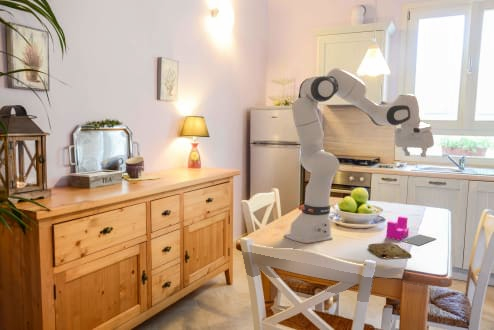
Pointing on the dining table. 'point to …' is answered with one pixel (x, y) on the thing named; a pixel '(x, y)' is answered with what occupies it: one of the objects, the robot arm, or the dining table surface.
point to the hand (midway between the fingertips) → (415, 156)
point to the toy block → (397, 228)
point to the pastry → (388, 250)
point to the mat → (419, 240)
